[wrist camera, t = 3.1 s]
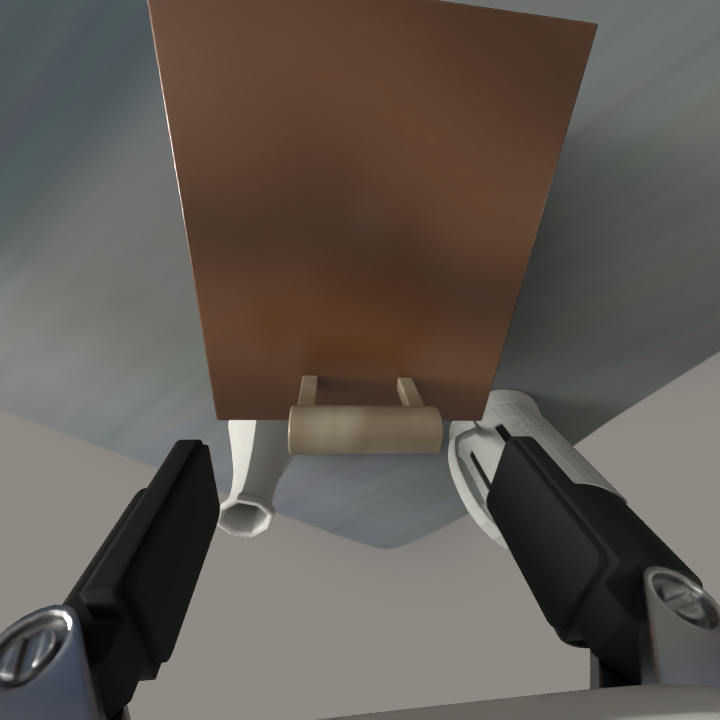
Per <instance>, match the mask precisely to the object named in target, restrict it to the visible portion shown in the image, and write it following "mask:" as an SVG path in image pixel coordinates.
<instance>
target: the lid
mask: <svg viewBox="0 0 720 720" xmlns="http://www.w3.org/2000/svg"><path fill="white" fill-rule="evenodd" d="M147 4H148V10H149V16H150V22H151V28H152V34H153V40H154V46H155V52H156V58H157V64H158V70H159V76H160V82H161V88H162V94H163V100H164V106H165V112H166V118H167V124H168V130H169V136H170V142H171V148H172V154H173V160H174V166H175V172H176V178H177V184H178V190H179V196H180V202H181V207H182V213H183V219H184V225H185V231H186V237H187V243H188V249H189V255H190V261H191V267H192V273H193V279H194V285H195V291H196V297H197V303H198V309H199V315H200V321H201V327H202V333H203V339H204V345H205V351H206V357H207V363H208V369H209V375H210V381H211V387H212V393H213V399H214V405H215V411H216V417H217V420H289V425H288V449H289V453H290V454H291V455H339V454H436V453H438V452H439V451H440V450H441V447H442V443H443V422H442V421H482V418H483V415H484V411H485V408H486V405H487V401H488V398H489V394H490V391H491V388H492V384H493V381H494V377H495V374H496V371H497V367H498V364H499V360H500V357H501V354H502V350H503V347H504V343H505V340H506V336H507V333H508V330H509V326H510V323H511V319H512V316H513V313H514V309H515V306H516V302H517V299H518V296H519V292H520V289H521V285H522V282H523V279H524V275H525V272H526V268H527V265H528V262H529V258H530V255H531V251H532V248H533V245H534V241H535V238H536V234H537V231H538V228H539V224H540V221H541V217H542V214H543V211H544V207H545V204H546V200H547V197H548V194H549V190H550V187H551V183H552V180H553V177H554V173H555V170H556V166H557V163H558V160H559V156H560V153H561V149H562V146H563V143H564V139H565V136H566V132H567V129H568V126H569V122H570V119H571V115H572V112H573V109H574V105H575V102H576V98H577V95H578V91H579V88H580V85H581V81H582V78H583V74H584V71H585V68H586V64H587V61H588V57H589V54H590V51H591V47H592V44H593V40H594V37H595V34H596V30H597V27H598V25H597V24H595V23H589V22H582V21H575V20H568V19H561V18H554V17H548V16H541V15H534V14H527V13H520V12H513V11H507V10H500V9H493V8H486V7H479V6H472V5H466V4H459V3H452V2H445V1H438V0H147Z"/></svg>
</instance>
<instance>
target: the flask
mask: <svg viewBox="0 0 720 720" xmlns="http://www.w3.org/2000/svg"><path fill="white" fill-rule="evenodd" d="M288 425H289V420H229V423H228V426H229V434H230V441H231V447H232V458H233V470H234V475H233V483H232V490H231V493H230V496H229V498H228V500H226V501H224V502H223V503H222V504H221V506H220V515H219V519H218V523H217V525H218V526H219V527H221V528H222V529H224V530H225V531H227V532H228V533H230V534H231V535H237V536H243V537H250V538H254V537H256V536H258V535H259V534H261V533H263V532H265V531H267V530H269V529H270V526H271V523H272V520H273V517H274V514H275V508H274V507H273V506H272V499H273V495H274V491H275V489H276V486H277V484H278V481H279V479H280V477H281V476H282V474H283V473H284V471H285V470H286V468H287V467H288V465H289V464H290V462H291V461H292V459H293V458H294V456H295V455H291V454H290V453H289V449H288Z"/></svg>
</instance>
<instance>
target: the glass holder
mask: <svg viewBox="0 0 720 720" xmlns="http://www.w3.org/2000/svg"><path fill="white" fill-rule="evenodd" d="M513 436H531V437H533V438H534V439H535V440H536V441H537V442H538V443H539V444H540V445H541V446H542V448H543V449H544V450H545V451H546V452H547V453H548V454H549V455H550V457H551V458H552V459H553V460H554V461H555V462H556V463H557V464H558V465H559V467H560V468H561V469H562V470H563V471H564V472H565V473H566V474H567V476H568V477H569V478H570V479H571V480H572V481H573V482H574V483H575V485H576V486H577V487H578V488H579V489H580V490H581V491H582V492H583V494H584V495H585V496H586V497H587V498H588V499H589V500H590V501H591V502H592V504H593V505H594V506H595V507H596V508H597V509H598V510H599V511H600V513H601V514H602V515H603V516H604V517H605V518H606V519H607V520H608V522H609V523H610V524H611V525H612V526H613V527H614V528H615V529H616V530H617V532H618V533H619V534H620V535H621V536H622V537H623V538H624V539H625V541H626V542H627V543H628V544H629V545H630V546H631V547H632V548H633V550H634V551H635V552H636V553H637V554H638V555H639V556H640V557H641V559H642V560H641V562H640V563H639V564H640V565H641V566H642V567H643V569H644V570H646V569H647V568H648V567H652V566H660V567H666V568H669V569H671V570H674V571H676V572H678V573H680V574H682V575H684V576H686V577H687V578H689V579H691V580H692V581H693V582H695V583H696V584H697V585H699V586H700V587H701V588H703V587H702V582H701V581H700V579H699V578H698V577H697V576H696V575H695V574H694V573H693V572H692V571H691V570H690V569H689V568H688V567H687V566H686V565H685V563H684V562H682V560H681V559H679V558H678V556H677V555H676V554H675V553H674V552H673V551H672V550H671V549H670V548H669V547H668V546H667V545H666V544H665V543H664V542H663V541H662V540H661V539H660V538H659V537H658V536H657V535H656V534H655V533H654V532H653V531H652V530H651V529H650V528H649V527H648V526H647V525H646V524H645V523H644V522H643V521H642V520H641V519H640V518H639V517H638V516H637V515H636V514H635V513H634V512H633V511H632V510H631V509H630V508H629V507H628V506H627V505H626V504H627V501H626V499H625V498H624V497H623V496H622V495H621V494H620V493H618V491H617V490H616V489H615V488H614V487H613V486H612V485H611V484H610V483H609V482H608V481H607V480H606V479H605V478H604V477H603V476H601V474H600V473H599V472H598V471H597V470H596V469H595V468H594V467H593V466H592V465H590V464H589V462H587V460H585V458H584V457H583V456H582V455H581V454H580V453H579V452H578V451H577V450H576V449H575V448H574V447H573V446H572V445H571V444H570V443H569V442H568V441H567V440H566V439H565V438H564V437H563V436H562V435H561V434H560V433H559V432H558V431H557V430H556V429H555V428H554V427H553V426H552V425H551V424H550V423H549V422H548V421H547V420H546V419H545V418H544V417H543V416H542V415H541V414H540V411H539V409H538V406H537V404H536V403H535V402H534V400H533V399H532V398H531V397H530V396H528V395H527V394H525V393H523V392H521V391H517V390H512V389H498V390H493V391H490V394H489V398H488V401H487V405H486V408H485V411H484V415H483V418H482V421H452V422H451V425H450V428H449V442H450V443H449V449H448V462H449V466H450V470H451V475H452V477H453V480H454V482H455V485H456V487H457V490H458V492H459V495H460V497H461V498H462V500H463V502H464V504H465V506H466V508H467V510H468V512H469V513H470V514H471V516H472V517H473V518H474V520H475V521H476V522H477V523H478V525H479V526H480V527H481V528H482V529H483V530H484V531H485V532H486V533H487V534H488V535H489V536H490V537H491V538H492V539H493V540H494V541H495V542H497V543H498V544H500V545H501V546H502V547H504V548H505V549H507V550H509V548H508V546H507V544H506V542H505V540H504V538H503V536H502V534H501V533H500V531H499V529H498V527H497V525H496V523H495V522H494V521H493V520H492V519H491V518H490V517H489V515H488V514H487V513H486V512H485V510H484V509H483V508H482V506H481V505H480V504H479V502H478V500H477V498H476V497H475V495H474V493H473V491H472V490H471V488H470V486H469V483H468V481H467V479H466V476H465V474H464V472H463V470H462V466H461V463H460V459H459V457H460V458H462V459H463V460H464V462H465V464H466V466H467V468H468V470H469V472H470V474H471V476H472V478H473V480H474V482H475V484H476V485H477V487H478V489H479V491H480V493H481V495H482V497H483V499H484V501H485V503H486V498H487V495H488V492H489V489H490V486H491V483H492V480H493V477H494V475H495V472H496V469H497V466H498V463H499V460H500V457H501V454H502V451H503V449H504V446H505V443H506V442H507V441H509V440H510V438H511V437H513ZM486 505H487V503H486ZM509 551H510V550H509ZM554 629H555V631H556V633H557V635H558V637H559V638H560V639H561V637H560V635H559V633H558V631H557V629H556V628H554ZM561 640H562V639H561ZM562 641H563V640H562ZM564 643H566V644H568V645H571V646H574V647H579V648H589V647H588V645H587V643H586V642H585V640H584V638H583V639H582V640H576V641H565V642H564Z"/></svg>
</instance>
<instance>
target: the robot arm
mask: <svg viewBox="0 0 720 720" xmlns="http://www.w3.org/2000/svg"><path fill="white" fill-rule="evenodd" d="M486 503H487V508H488V510H489V512H490V514H491V515H492V517H493V519H494V521H495V523H496V525H497V527H498V529H499V531H500V533H501V534H502V536H503V538H504V540H505V542H506V544H507V546H508V548H509V550H510V551H511V553H512V555H513V557H514V559H515V561H516V563H517V565H518V566H519V568H520V570H521V572H522V574H523V576H524V578H525V580H526V581H527V583H528V585H529V587H530V589H531V591H532V593H533V595H534V597H535V599H536V600H537V602H538V604H539V606H540V608H541V610H542V612H543V614H544V615H545V617H546V619H547V621H548V622H549V624H550V625H551V626H552V627H554V628H556V629H557V631H558V633H559V635H560V637H561V639H562V640H563V642H565V641H576V640H582V639H583V638H584V640H585V642H586V643H587V645H588V647H589V648H590V689H588V690H579V691H569V692H560V693H550V694H541V695H531V696H522V697H513V698H503V699H494V700H485V701H476V702H467V703H459V704H449V705H440V706H431V707H423V708H413V709H405V710H397V711H387V712H378V713H370V714H360V715H352V716H343V717H335V718H327V719H318V720H720V606H719V605H718V604H717V602H716V601H715V600H714V599H713V598H712V597H711V596H710V595H709V594H708V593H707V592H706V591H705V590H704V589H703V588H701V587H700V586H699V585H697V584H696V583H695V582H693V581H692V580H691V579H689V578H687V577H686V576H684V575H682V574H680V573H678V572H676V571H674V570H671V569H669V568H666V567H660V566H652V567H648V568H647V569H646V570H644V569H643V567H642V566H641V565H640V564H639V563H640V562H641V560H642V559H641V557H640V556H639V555H638V554H637V553H636V552H635V551H634V550H633V548H632V547H631V546H630V545H629V544H628V543H627V542H626V541H625V539H624V538H623V537H622V536H621V535H620V534H619V533H618V532H617V530H616V529H615V528H614V527H613V526H612V525H611V524H610V523H609V522H608V520H607V519H606V518H605V517H604V516H603V515H602V514H601V513H600V511H599V510H598V509H597V508H596V507H595V506H594V505H593V504H592V502H591V501H590V500H589V499H588V498H587V497H586V496H585V495H584V494H583V492H582V491H581V490H580V489H579V488H578V487H577V486H576V485H575V483H574V482H573V481H572V480H571V479H570V478H569V477H568V476H567V474H566V473H565V472H564V471H563V470H562V469H561V468H560V467H559V465H558V464H557V463H556V462H555V461H554V460H553V459H552V458H551V457H550V455H549V454H548V453H547V452H546V451H545V450H544V449H543V448H542V446H541V445H540V444H539V443H538V442H537V441H536V440H535V439H534V438H533V437H531V436H513V437H511V438H510V440H509V441H507V442H506V443H505V446H504V449H503V451H502V454H501V457H500V460H499V463H498V466H497V469H496V472H495V475H494V477H493V480H492V483H491V486H490V489H489V492H488V495H487V498H486ZM219 515H220V505H219V499H218V494H217V488H216V483H215V478H214V473H213V467H212V462H211V457H210V451H209V447H208V445H203V443H202V441H201V440H179V441H177V442H176V444H175V445H174V447H173V448H172V450H171V451H170V453H169V454H168V456H167V458H166V459H165V461H164V462H163V464H162V465H161V467H160V469H159V470H158V472H157V474H156V475H155V476H154V478H153V480H152V481H151V483H150V484H149V486H148V487H147V488H144V489H141V490H140V491H138V493H137V494H136V495H135V496H134V498H133V499H132V501H131V502H130V504H129V505H128V507H127V508H126V510H125V511H124V513H123V514H122V516H121V517H120V519H119V520H118V522H117V523H116V525H115V526H114V528H113V529H112V531H111V532H110V534H109V535H108V537H107V538H106V540H105V541H104V543H103V544H102V546H101V547H100V549H99V550H98V552H97V553H96V555H95V556H94V558H93V559H92V561H91V562H90V564H89V565H88V567H87V568H86V570H85V571H84V573H83V574H82V576H81V577H80V579H79V580H78V582H77V583H76V585H75V586H74V588H73V589H72V591H71V592H70V594H69V596H68V597H67V598H66V600H65V601H64V603H63V604H62V605H52V606H48V607H45V608H41V609H38V610H36V611H34V612H32V613H30V614H28V615H26V616H24V617H22V618H21V619H19V620H18V621H16V622H15V623H13V624H12V625H11V626H9V627H7V628H6V629H5V630H4V631H3V632H2V633H1V634H0V720H131V719H130V714H129V710H128V706H127V704H128V703H129V702H130V701H131V699H132V697H133V694H134V691H135V689H136V687H137V684H138V682H139V681H144V680H155V679H156V677H157V674H158V671H159V668H160V666H161V663H163V662H167V661H168V660H169V658H170V657H171V655H172V652H173V650H174V647H175V644H176V641H177V638H178V635H179V632H180V629H181V626H182V624H183V621H184V618H185V615H186V612H187V609H188V606H189V603H190V600H191V598H192V595H193V592H194V589H195V586H196V583H197V580H198V577H199V574H200V572H201V569H202V566H203V563H204V560H205V557H206V554H207V551H208V549H209V546H210V542H211V540H212V537H213V534H214V531H215V528H216V525H217V523H218V519H219Z"/></svg>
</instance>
